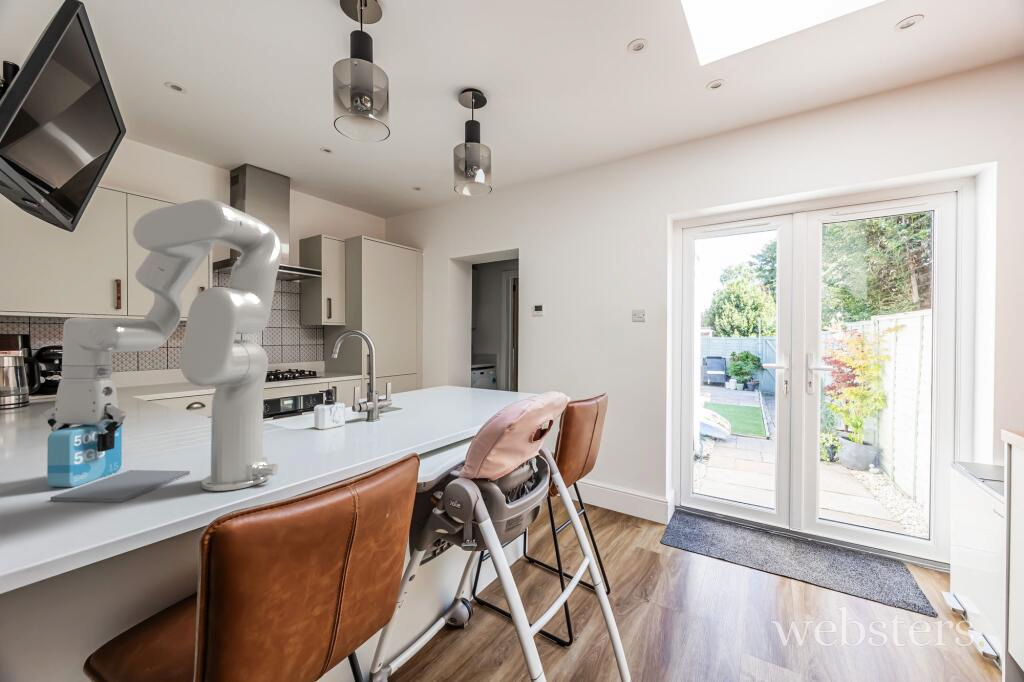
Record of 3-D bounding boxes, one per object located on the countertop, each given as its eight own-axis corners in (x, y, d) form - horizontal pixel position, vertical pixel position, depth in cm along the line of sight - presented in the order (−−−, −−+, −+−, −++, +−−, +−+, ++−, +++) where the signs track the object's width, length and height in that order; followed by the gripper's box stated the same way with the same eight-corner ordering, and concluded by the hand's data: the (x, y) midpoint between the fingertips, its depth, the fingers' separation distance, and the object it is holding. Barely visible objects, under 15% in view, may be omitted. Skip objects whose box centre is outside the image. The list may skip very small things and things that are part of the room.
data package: (69, 489, 83) (69, 432, 83) (46, 489, 83) (46, 432, 83) (122, 470, 95) (122, 420, 95) (102, 470, 95) (102, 420, 95)
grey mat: (189, 474, 93) (189, 470, 93) (122, 502, 77) (122, 498, 77) (130, 473, 93) (130, 470, 93) (50, 501, 77) (50, 496, 77)
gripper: (141, 373, 93) (138, 446, 93) (67, 370, 93) (65, 443, 93) (108, 376, 85) (105, 455, 85) (28, 373, 85) (25, 452, 85)
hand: (84, 449), depth 89 cm, fingers open, 9 cm apart
